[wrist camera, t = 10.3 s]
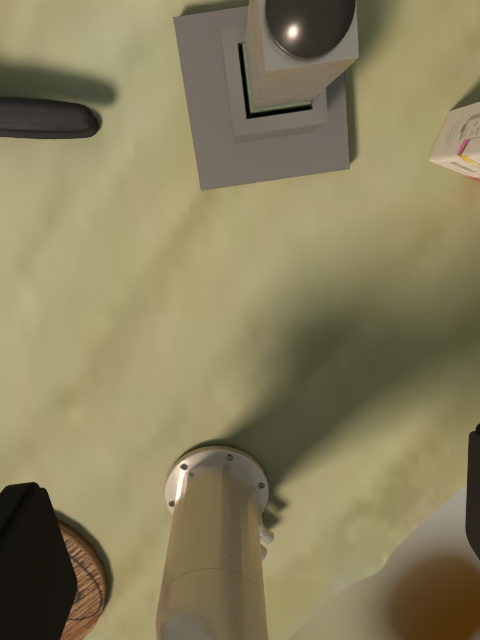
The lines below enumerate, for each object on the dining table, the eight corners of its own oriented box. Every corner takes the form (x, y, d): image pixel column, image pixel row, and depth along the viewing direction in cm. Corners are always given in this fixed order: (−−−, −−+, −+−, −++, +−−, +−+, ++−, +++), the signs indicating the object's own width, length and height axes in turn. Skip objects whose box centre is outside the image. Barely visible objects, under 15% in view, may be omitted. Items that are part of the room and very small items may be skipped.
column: (302, 111, 34) (365, 56, 18) (248, 119, 34) (264, 71, 18) (296, 49, 32) (360, -68, 17) (241, 58, 32) (251, -51, 17)
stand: (345, 169, 42) (385, 167, 31) (201, 189, 42) (192, 195, 32) (336, -2, 37) (378, -72, 27) (175, 23, 38) (154, -36, 27)
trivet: (26, 670, 63) (20, 685, 62) (-125, 575, 57) (-136, 588, 55) (146, 581, 58) (144, 594, 57) (-4, 466, 52) (-12, 477, 50)
